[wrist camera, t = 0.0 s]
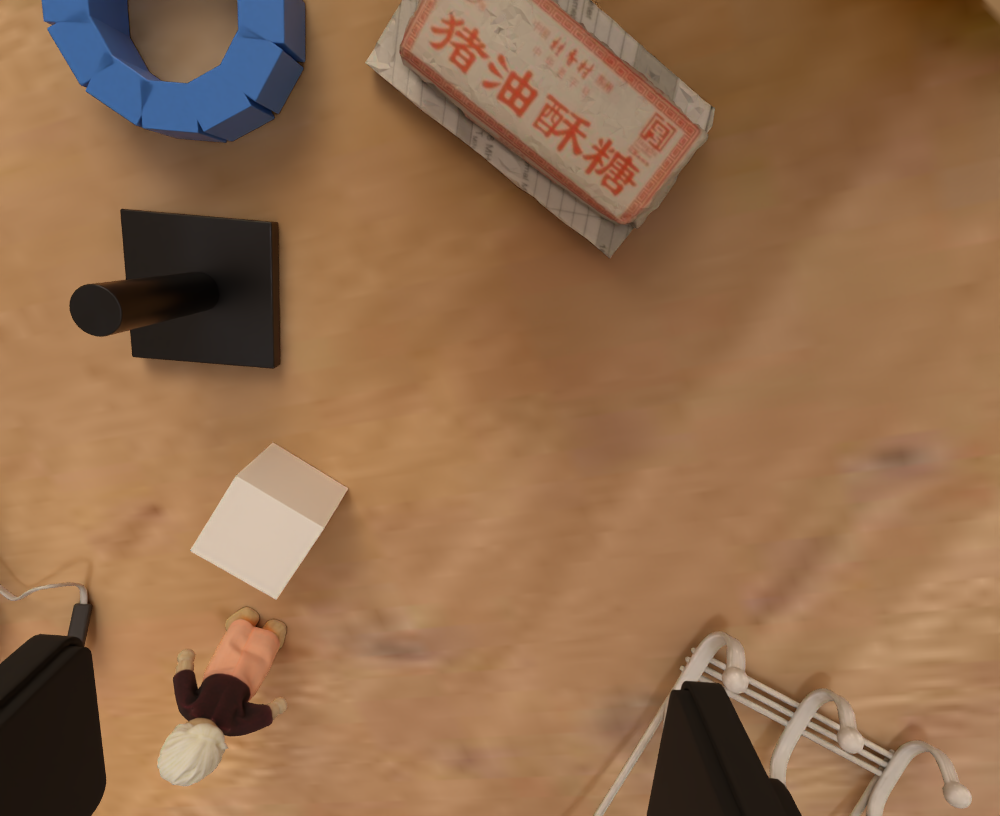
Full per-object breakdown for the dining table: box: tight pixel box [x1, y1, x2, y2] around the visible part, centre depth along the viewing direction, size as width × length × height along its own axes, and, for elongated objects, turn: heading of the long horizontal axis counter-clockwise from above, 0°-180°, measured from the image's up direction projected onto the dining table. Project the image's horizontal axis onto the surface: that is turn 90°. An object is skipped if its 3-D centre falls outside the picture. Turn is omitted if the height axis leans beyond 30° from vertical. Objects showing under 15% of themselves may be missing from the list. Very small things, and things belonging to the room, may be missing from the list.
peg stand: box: [70, 209, 280, 368], centre depth 33 cm, size 9×9×11 cm
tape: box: [42, 0, 305, 143], centre depth 33 cm, size 12×12×4 cm
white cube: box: [190, 443, 348, 599], centre depth 40 cm, size 6×6×6 cm
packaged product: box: [365, 0, 715, 258], centre depth 33 cm, size 18×5×10 cm
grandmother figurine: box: [157, 607, 287, 786], centre depth 39 cm, size 8×4×13 cm, turn 70°
